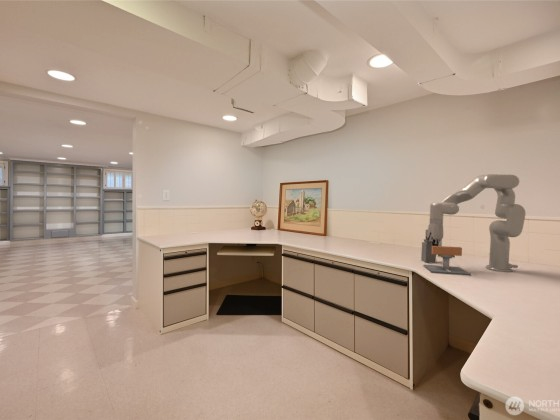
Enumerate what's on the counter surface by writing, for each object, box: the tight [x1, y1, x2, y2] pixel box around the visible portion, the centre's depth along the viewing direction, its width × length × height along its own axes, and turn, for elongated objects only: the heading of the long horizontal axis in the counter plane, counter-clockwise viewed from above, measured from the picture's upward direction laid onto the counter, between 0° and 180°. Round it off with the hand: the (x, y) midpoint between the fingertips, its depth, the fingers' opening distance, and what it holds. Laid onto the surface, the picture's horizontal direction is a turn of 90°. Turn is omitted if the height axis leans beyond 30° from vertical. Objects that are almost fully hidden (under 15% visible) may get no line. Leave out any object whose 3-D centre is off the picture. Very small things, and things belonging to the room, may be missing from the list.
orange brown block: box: [432, 245, 463, 259], centre depth 161 cm, size 16×6×7 cm, turn 77°
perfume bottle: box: [420, 236, 437, 264], centre depth 184 cm, size 7×7×18 cm
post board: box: [422, 258, 472, 276], centre depth 162 cm, size 21×16×8 cm
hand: (435, 249), depth 168 cm, fingers closed
